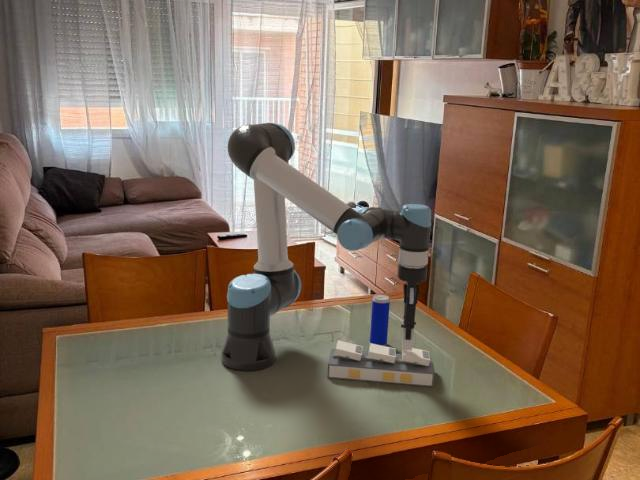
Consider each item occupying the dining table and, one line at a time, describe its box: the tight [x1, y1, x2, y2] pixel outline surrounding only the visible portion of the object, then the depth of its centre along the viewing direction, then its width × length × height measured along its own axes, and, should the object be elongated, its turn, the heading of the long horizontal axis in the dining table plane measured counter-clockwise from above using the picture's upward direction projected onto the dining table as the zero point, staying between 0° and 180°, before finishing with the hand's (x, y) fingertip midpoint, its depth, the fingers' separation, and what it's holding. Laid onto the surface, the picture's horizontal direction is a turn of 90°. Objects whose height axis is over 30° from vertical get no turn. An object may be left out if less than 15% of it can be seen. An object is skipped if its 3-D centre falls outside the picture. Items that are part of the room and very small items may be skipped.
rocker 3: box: [401, 347, 431, 366], centre depth 165 cm, size 7×6×2 cm
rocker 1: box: [335, 339, 364, 361], centre depth 167 cm, size 7×6×2 cm
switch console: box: [326, 348, 436, 388], centre depth 167 cm, size 28×10×5 cm, turn 83°
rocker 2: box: [368, 342, 397, 363], centre depth 166 cm, size 7×6×2 cm
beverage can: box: [369, 294, 391, 346], centre depth 185 cm, size 5×5×15 cm
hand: (406, 348), depth 165 cm, fingers closed
